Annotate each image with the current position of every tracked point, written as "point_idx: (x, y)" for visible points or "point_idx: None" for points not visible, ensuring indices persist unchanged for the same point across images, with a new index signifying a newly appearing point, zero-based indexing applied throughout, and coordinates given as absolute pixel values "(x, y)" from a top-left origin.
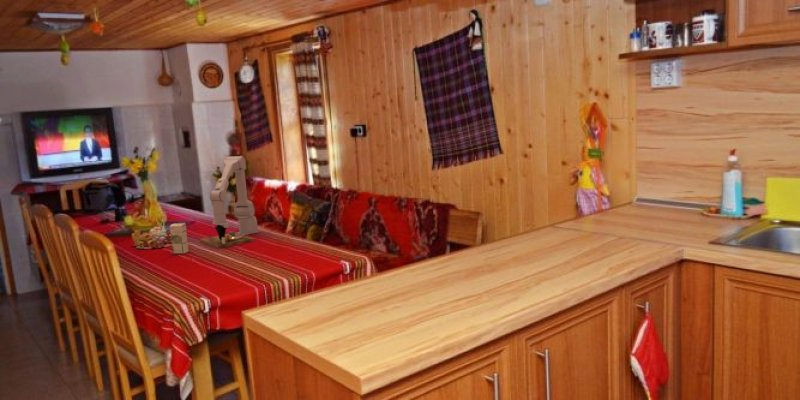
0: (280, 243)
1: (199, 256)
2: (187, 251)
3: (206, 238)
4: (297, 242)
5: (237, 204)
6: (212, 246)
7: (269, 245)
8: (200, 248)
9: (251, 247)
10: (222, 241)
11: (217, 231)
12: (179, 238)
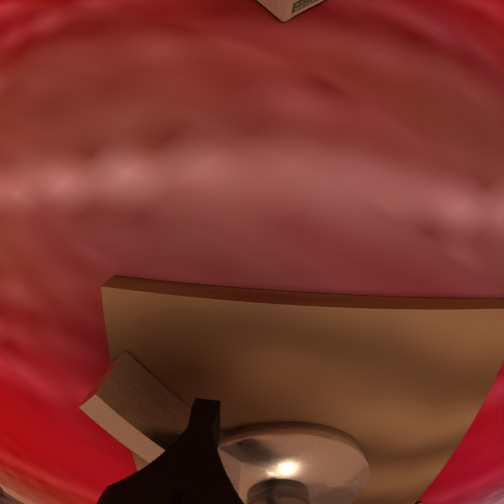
0: (35, 480)
1: (17, 50)
2: (267, 7)
3: (492, 356)
4: (25, 492)
5: None
6: (244, 289)
7: (19, 452)
8: (287, 158)
9: (15, 406)
10: (111, 368)
11: (203, 469)
12: None
